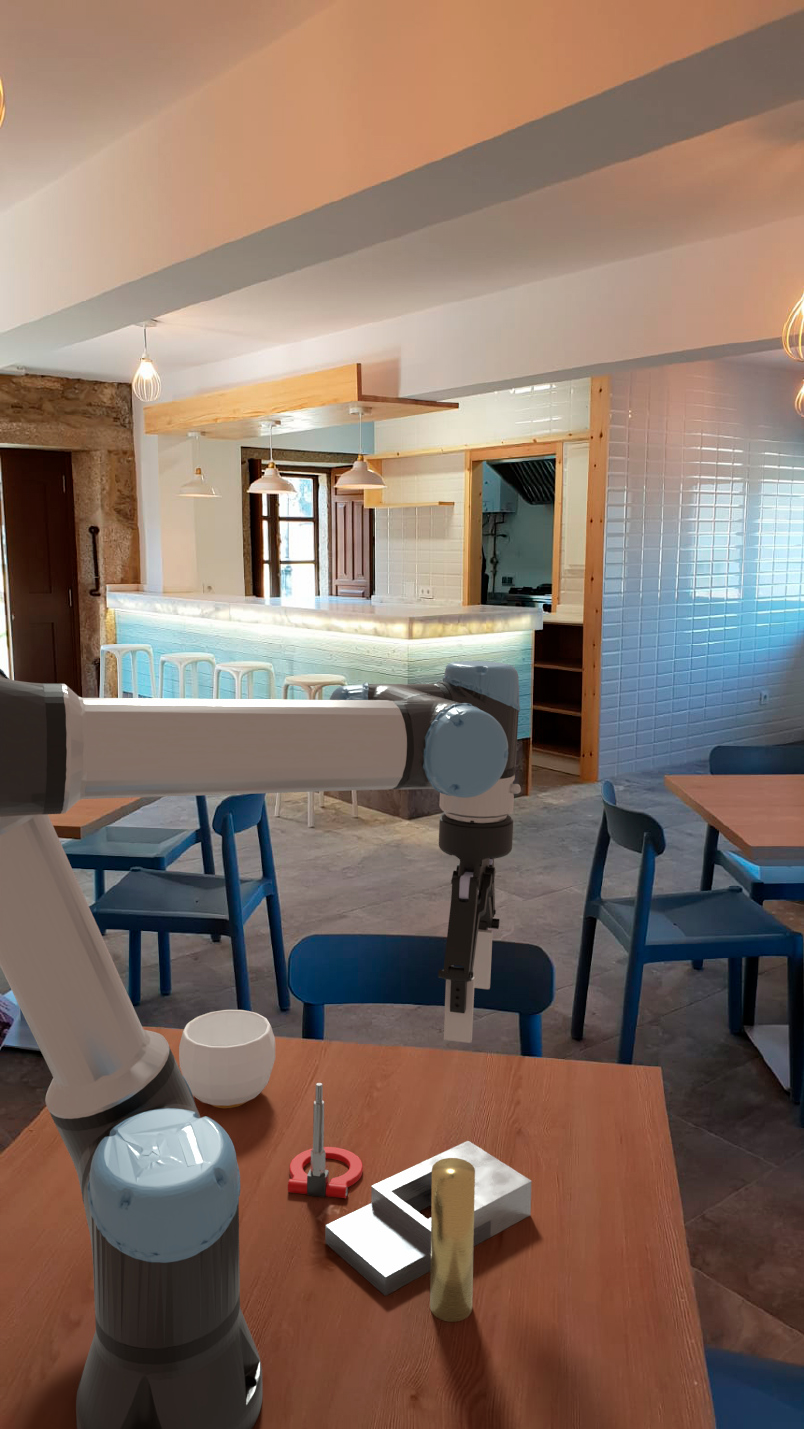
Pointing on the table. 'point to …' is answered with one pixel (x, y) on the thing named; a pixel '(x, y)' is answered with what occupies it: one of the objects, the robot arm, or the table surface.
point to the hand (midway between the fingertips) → (468, 1012)
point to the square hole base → (423, 1218)
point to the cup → (227, 1056)
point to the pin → (452, 1239)
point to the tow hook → (322, 1162)
